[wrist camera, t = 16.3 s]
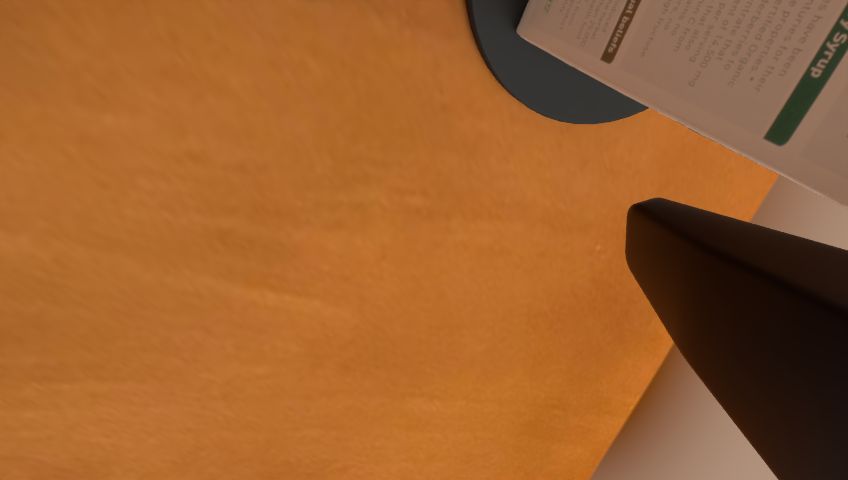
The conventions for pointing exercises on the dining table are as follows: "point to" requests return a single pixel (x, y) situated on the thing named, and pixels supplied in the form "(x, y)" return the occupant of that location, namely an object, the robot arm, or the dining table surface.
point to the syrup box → (721, 72)
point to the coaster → (541, 70)
